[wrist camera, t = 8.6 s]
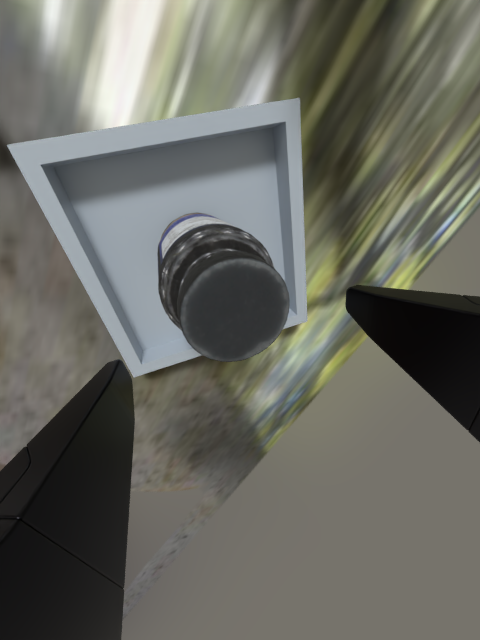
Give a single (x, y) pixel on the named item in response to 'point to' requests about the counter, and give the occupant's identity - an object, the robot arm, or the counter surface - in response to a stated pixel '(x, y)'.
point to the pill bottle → (220, 288)
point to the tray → (169, 208)
